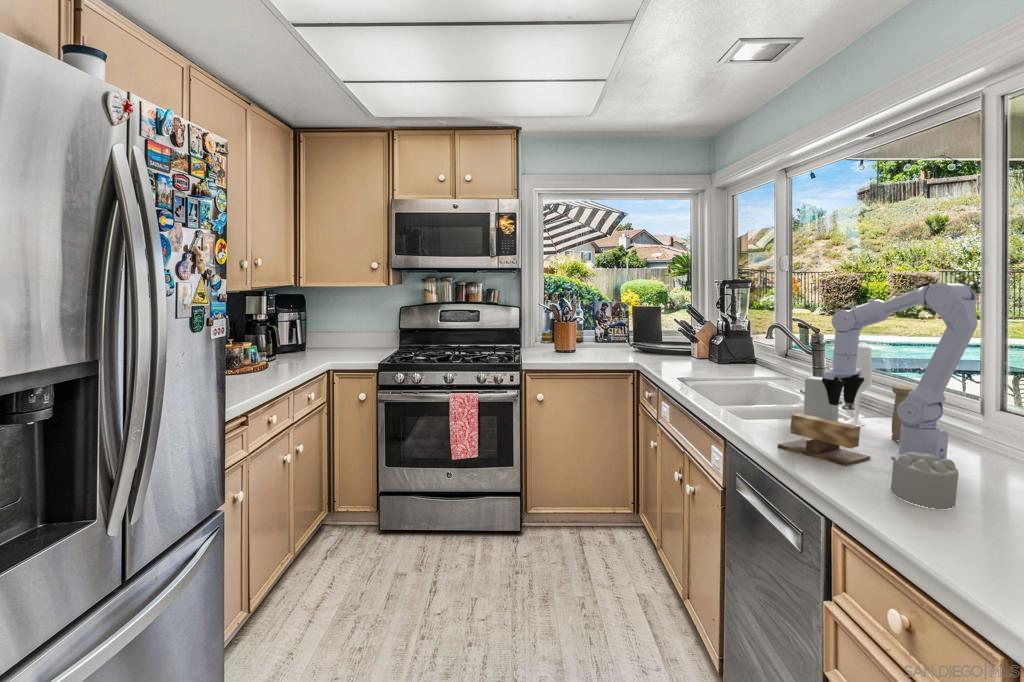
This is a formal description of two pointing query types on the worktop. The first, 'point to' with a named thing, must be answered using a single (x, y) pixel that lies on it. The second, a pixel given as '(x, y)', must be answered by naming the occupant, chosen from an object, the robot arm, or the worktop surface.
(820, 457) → the walnut board
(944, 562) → the worktop surface
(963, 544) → the worktop surface
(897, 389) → the handle
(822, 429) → the oak bar
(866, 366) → the champagne flute
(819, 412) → the skincare box
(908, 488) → the lumpy-topped squat cylinder
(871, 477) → the worktop surface
